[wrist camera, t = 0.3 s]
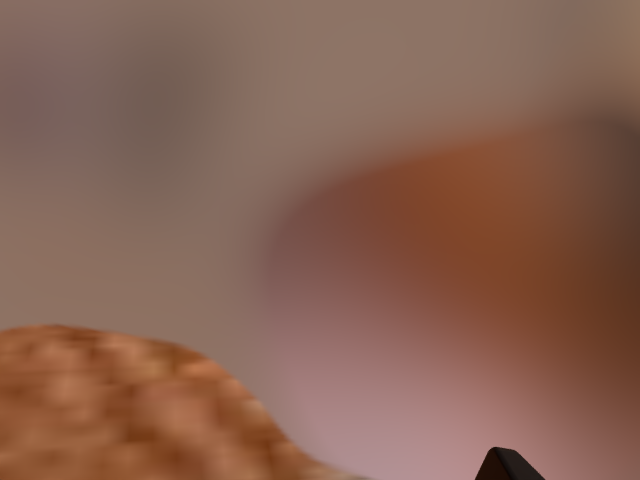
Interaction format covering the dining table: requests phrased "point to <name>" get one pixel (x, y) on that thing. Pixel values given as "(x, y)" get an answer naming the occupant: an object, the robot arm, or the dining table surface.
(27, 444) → the dining table surface
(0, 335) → the dining table surface
